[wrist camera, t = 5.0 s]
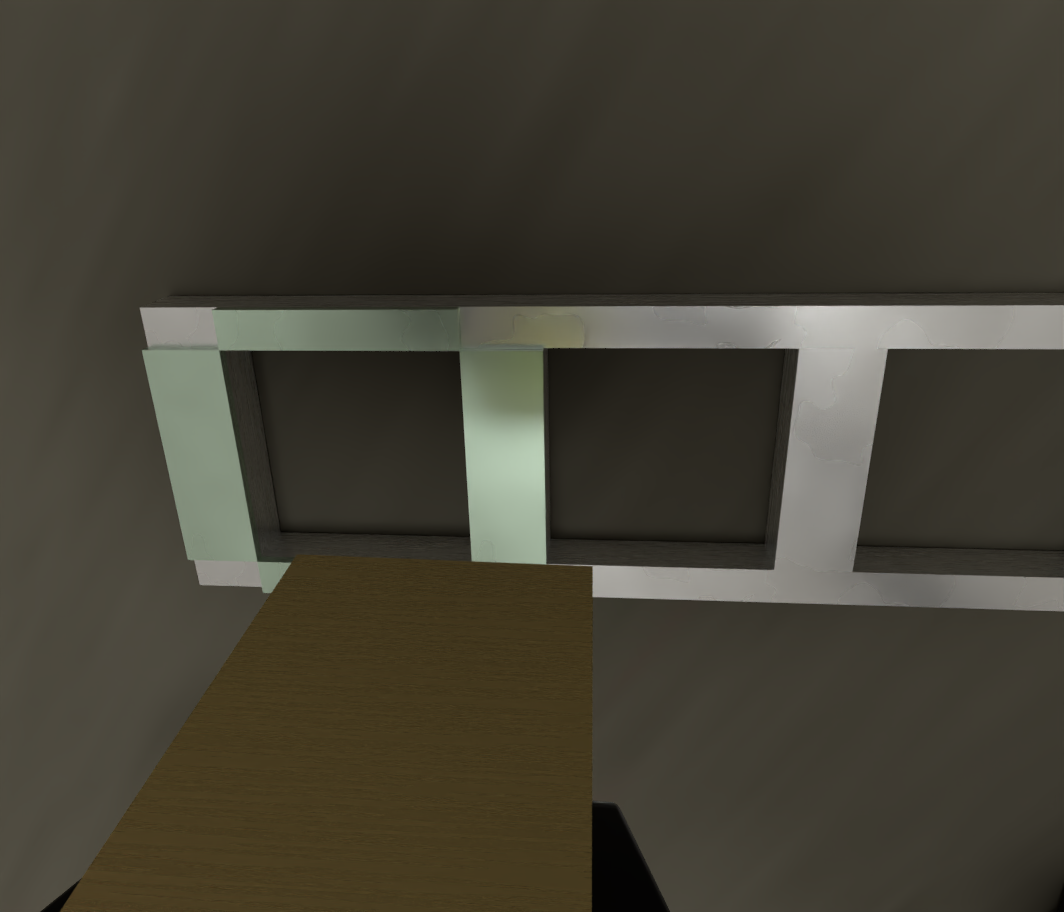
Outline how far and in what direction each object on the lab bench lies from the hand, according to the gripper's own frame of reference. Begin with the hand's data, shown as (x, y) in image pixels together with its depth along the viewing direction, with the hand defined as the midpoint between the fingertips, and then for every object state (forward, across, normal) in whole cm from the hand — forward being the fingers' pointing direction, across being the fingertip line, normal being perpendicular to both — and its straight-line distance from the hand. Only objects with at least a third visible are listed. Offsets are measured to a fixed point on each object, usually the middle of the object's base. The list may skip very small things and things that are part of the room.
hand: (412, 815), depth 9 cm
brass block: (+2, 0, 0) cm, 2 cm away
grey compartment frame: (+13, -4, +1) cm, 14 cm away
